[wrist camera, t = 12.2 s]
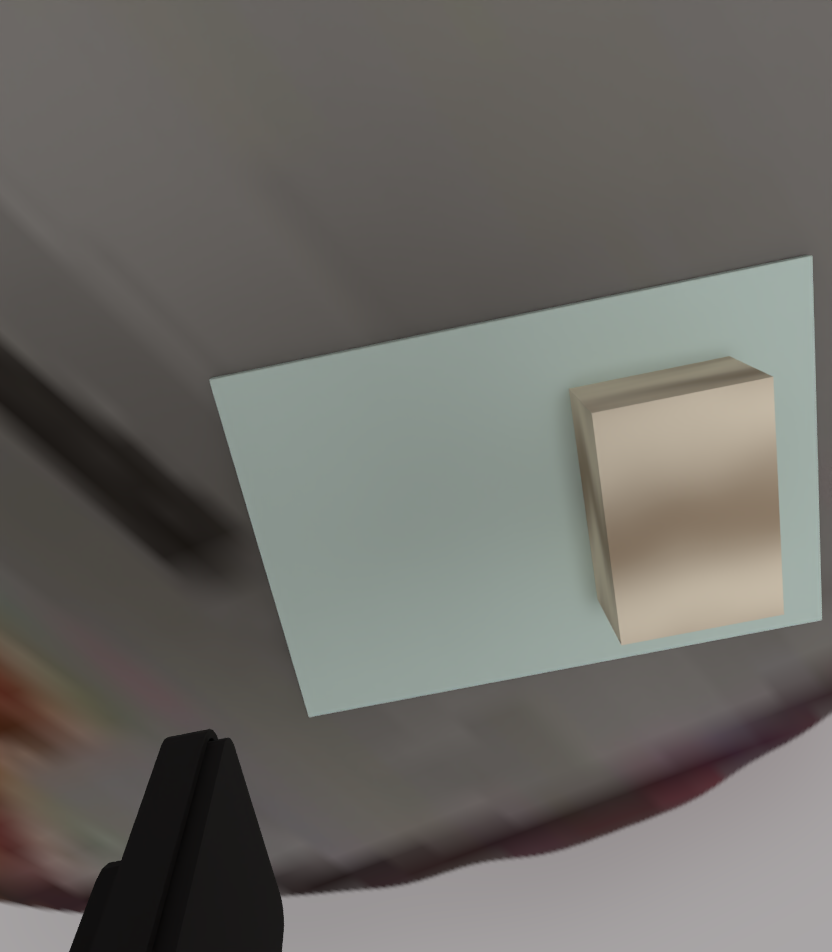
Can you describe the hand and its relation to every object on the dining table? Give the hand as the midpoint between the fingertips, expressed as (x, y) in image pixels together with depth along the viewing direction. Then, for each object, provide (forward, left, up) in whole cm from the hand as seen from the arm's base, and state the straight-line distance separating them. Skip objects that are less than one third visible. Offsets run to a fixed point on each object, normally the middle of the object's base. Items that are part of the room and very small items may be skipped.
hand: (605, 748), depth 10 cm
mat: (+2, -5, -21) cm, 21 cm away
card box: (+7, -5, -20) cm, 22 cm away
